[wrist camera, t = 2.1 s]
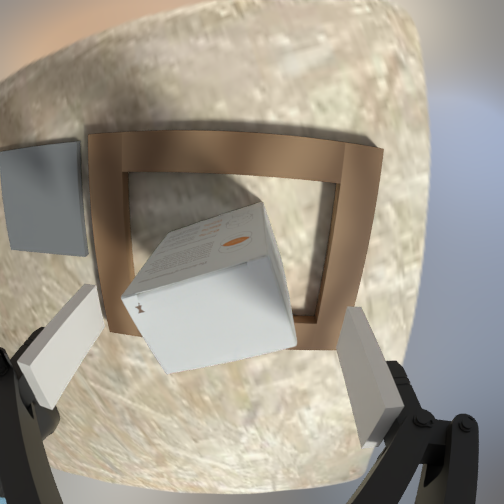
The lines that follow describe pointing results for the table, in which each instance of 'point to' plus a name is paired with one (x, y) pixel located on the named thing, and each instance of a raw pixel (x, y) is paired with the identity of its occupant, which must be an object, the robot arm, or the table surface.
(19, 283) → the table surface
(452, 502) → the robot arm
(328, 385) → the table surface
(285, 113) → the table surface
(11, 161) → the pad
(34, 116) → the table surface
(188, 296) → the small box
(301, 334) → the wooden picture frame
